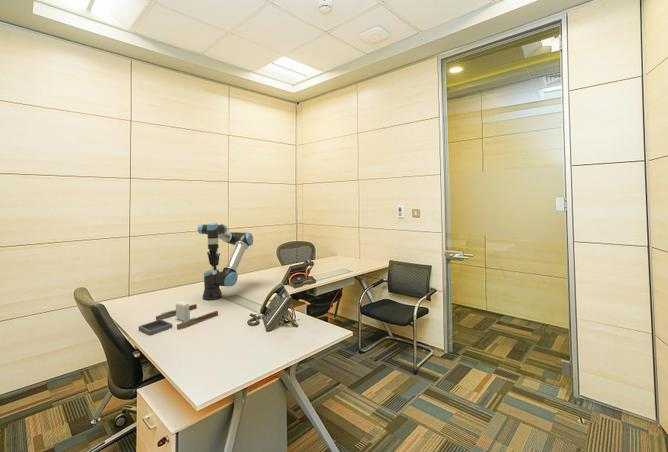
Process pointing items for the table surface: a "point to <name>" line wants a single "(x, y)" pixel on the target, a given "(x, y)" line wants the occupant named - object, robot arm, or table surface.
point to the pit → (155, 327)
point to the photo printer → (182, 311)
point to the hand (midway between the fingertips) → (214, 274)
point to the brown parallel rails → (189, 321)
